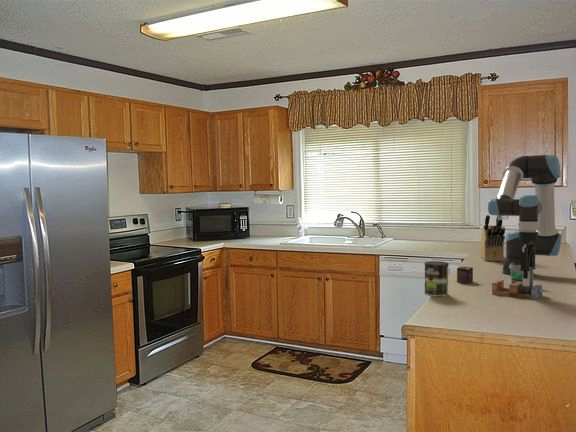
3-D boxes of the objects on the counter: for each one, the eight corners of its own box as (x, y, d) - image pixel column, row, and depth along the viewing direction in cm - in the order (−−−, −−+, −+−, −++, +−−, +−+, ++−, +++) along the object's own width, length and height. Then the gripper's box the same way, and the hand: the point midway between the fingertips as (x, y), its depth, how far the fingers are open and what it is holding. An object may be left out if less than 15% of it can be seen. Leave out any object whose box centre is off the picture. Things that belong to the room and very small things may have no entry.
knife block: (486, 263, 317) (487, 212, 315) (478, 255, 351) (479, 209, 350) (506, 263, 315) (506, 212, 313) (496, 255, 349) (496, 209, 347)
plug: (524, 293, 228) (524, 266, 227) (533, 294, 225) (534, 267, 225) (521, 295, 225) (521, 267, 225) (530, 296, 223) (531, 268, 222)
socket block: (500, 290, 238) (500, 279, 238) (542, 295, 226) (542, 284, 226) (491, 294, 231) (492, 282, 230) (535, 299, 219) (535, 287, 218)
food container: (503, 283, 254) (503, 263, 254) (512, 282, 256) (513, 262, 256) (522, 288, 243) (522, 266, 242) (532, 287, 245) (533, 266, 244)
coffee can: (441, 297, 225) (441, 265, 224) (420, 294, 232) (420, 263, 232) (452, 294, 232) (452, 262, 232) (432, 290, 240) (432, 260, 239)
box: (461, 280, 264) (461, 266, 263) (473, 281, 260) (473, 267, 260) (456, 282, 259) (456, 267, 259) (468, 283, 255) (468, 268, 255)
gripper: (525, 229, 233) (525, 281, 234) (512, 232, 220) (511, 287, 221) (543, 230, 227) (543, 283, 229) (531, 233, 215) (530, 289, 216)
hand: (527, 285), depth 225 cm, fingers closed on plug, 4 cm apart
